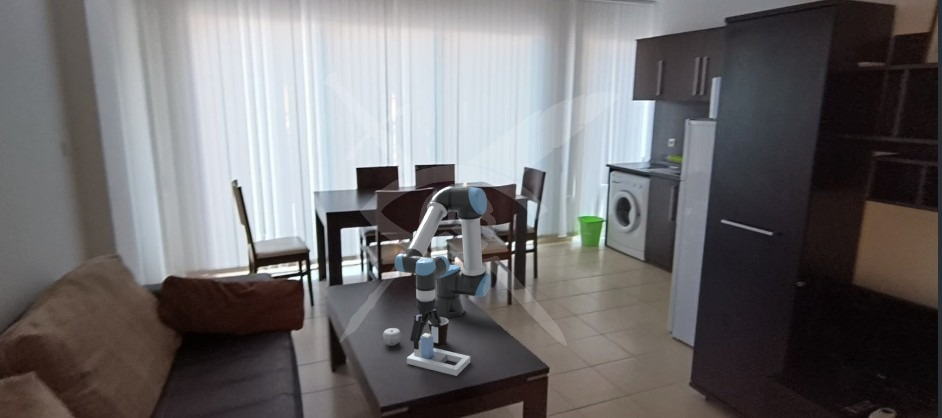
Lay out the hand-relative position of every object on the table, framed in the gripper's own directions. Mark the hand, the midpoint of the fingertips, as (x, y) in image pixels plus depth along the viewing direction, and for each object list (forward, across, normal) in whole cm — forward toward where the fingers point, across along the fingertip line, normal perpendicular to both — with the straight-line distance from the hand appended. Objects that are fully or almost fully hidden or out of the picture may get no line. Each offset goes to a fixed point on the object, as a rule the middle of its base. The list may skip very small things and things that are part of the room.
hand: (426, 348), depth 207 cm
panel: (+5, 0, +6) cm, 7 cm away
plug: (+5, 0, 0) cm, 5 cm away
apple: (+5, -6, -20) cm, 22 cm away
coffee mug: (+5, -17, -4) cm, 18 cm away
